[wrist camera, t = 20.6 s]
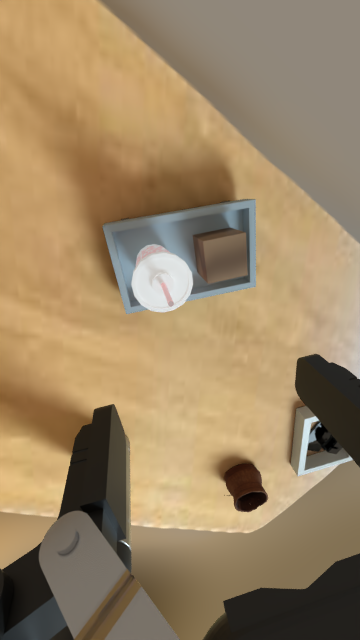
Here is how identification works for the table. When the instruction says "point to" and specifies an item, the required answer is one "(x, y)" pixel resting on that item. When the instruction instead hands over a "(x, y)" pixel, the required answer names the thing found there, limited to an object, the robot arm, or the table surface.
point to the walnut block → (221, 254)
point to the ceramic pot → (245, 487)
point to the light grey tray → (300, 445)
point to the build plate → (322, 440)
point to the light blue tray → (181, 244)
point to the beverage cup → (161, 279)
